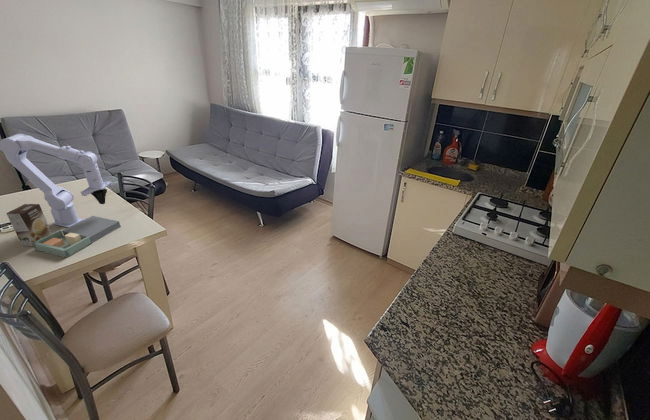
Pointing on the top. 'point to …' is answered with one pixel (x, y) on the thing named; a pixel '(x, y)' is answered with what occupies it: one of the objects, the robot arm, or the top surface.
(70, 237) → the tile
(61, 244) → the tile
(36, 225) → the coffee box
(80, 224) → the board
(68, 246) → the tray
